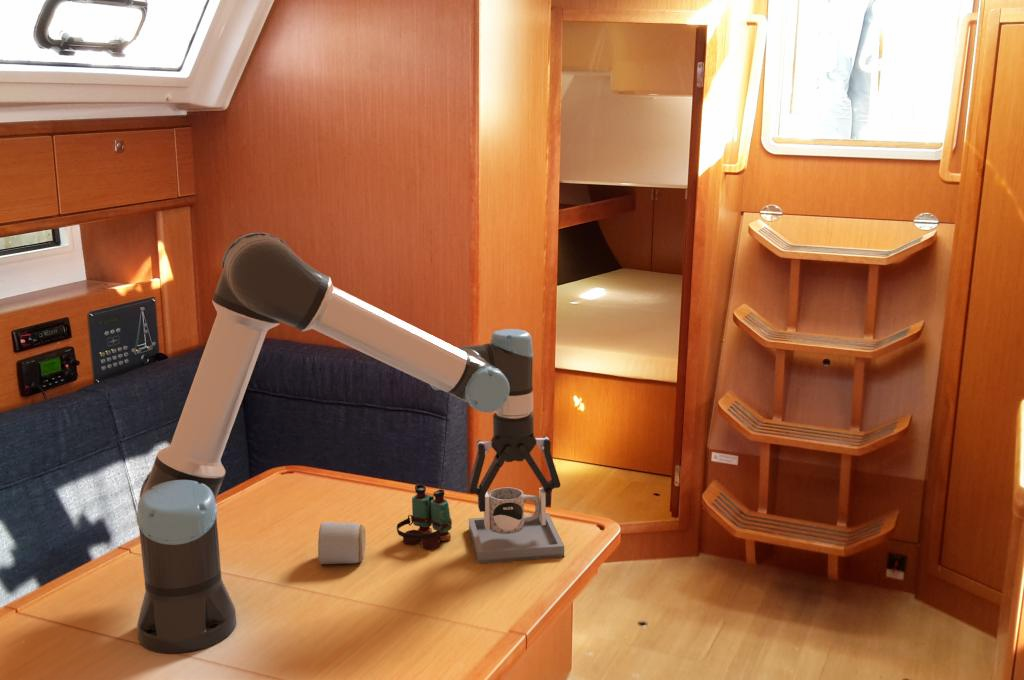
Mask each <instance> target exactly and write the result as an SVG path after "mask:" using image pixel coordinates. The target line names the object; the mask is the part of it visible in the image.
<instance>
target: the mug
mask: <svg viewBox="0 0 1024 680" xmlns="http://www.w3.org/2000/svg"><path fill="white" fill-rule="evenodd" d="M488 495H489V509H490V530H491V531H493V532H496V533H501V534H511V533H516V532H519V531H521V530H522V529H523V528H524V522H529V521H532V520H534V519H537V518H539V515H540V500H539V496H537V495H532V494H524V492H523V490H521V489H520V488H515V487H505V486H504V487H499V488H494V489H491V490H489V491H488ZM530 501H531V502H533V503H534V506H535V507H534V509H535V510H534V512H533V513H532V514H533V515H527V514H524V512H525V510H524V503H526V502H530Z"/></svg>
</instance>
